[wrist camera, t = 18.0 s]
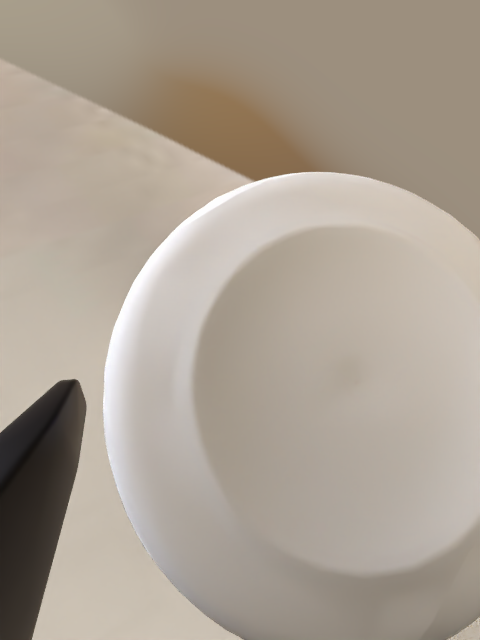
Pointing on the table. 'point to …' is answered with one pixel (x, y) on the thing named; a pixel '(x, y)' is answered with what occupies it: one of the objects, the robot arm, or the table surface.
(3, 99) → the table surface
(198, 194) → the table surface
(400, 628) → the sprinkles bottle
